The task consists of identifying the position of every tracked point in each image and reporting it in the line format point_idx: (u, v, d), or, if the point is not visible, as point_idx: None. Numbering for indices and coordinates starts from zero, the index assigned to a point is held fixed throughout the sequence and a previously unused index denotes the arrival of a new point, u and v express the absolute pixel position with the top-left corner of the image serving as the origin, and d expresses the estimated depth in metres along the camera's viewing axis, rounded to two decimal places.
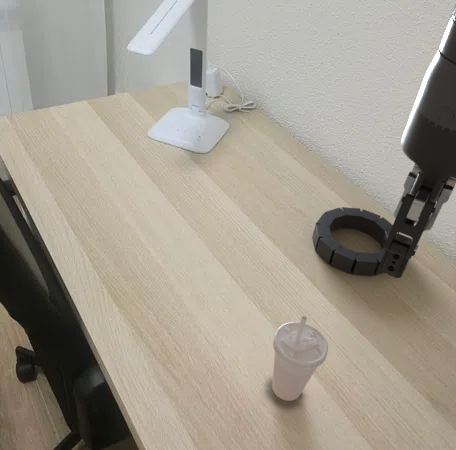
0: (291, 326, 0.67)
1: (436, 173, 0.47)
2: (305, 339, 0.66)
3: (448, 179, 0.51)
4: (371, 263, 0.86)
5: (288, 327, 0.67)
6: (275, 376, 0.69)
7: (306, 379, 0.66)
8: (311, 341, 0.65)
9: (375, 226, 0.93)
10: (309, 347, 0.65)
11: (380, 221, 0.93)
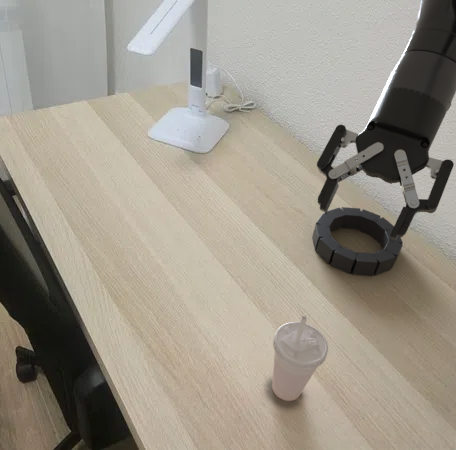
0: (291, 326, 0.67)
1: None
2: (305, 339, 0.66)
3: (394, 154, 0.64)
4: (371, 263, 0.86)
5: (288, 327, 0.67)
6: (275, 376, 0.69)
7: (306, 379, 0.66)
8: (311, 341, 0.65)
9: (375, 226, 0.93)
10: (309, 347, 0.65)
11: (380, 221, 0.93)
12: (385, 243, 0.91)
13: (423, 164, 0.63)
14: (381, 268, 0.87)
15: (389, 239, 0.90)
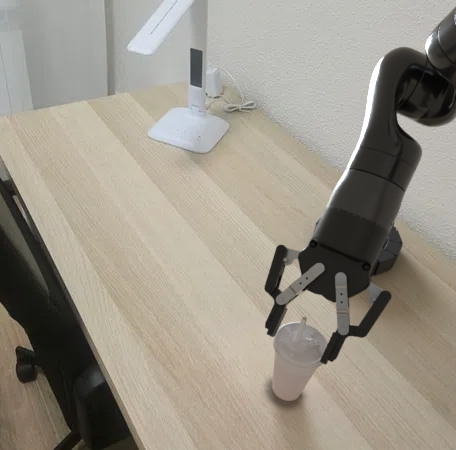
0: (292, 327, 0.67)
1: None
2: (305, 339, 0.65)
3: None
4: None
5: (288, 327, 0.67)
6: (275, 376, 0.69)
7: (306, 379, 0.66)
8: (311, 341, 0.65)
9: None
10: (309, 348, 0.65)
11: None
12: (385, 243, 0.91)
13: (364, 288, 0.61)
14: (381, 268, 0.87)
15: (389, 239, 0.90)
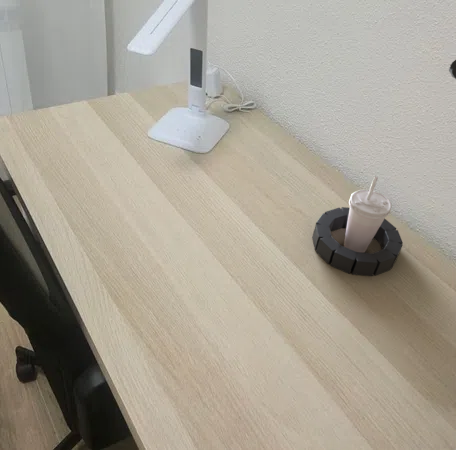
0: (373, 193, 0.88)
1: None
2: (375, 201, 0.86)
3: None
4: (371, 263, 0.86)
5: None
6: None
7: (363, 232, 0.88)
8: (378, 203, 0.86)
9: None
10: (373, 205, 0.86)
11: None
12: (385, 243, 0.91)
13: None
14: (381, 268, 0.87)
15: (389, 239, 0.90)
